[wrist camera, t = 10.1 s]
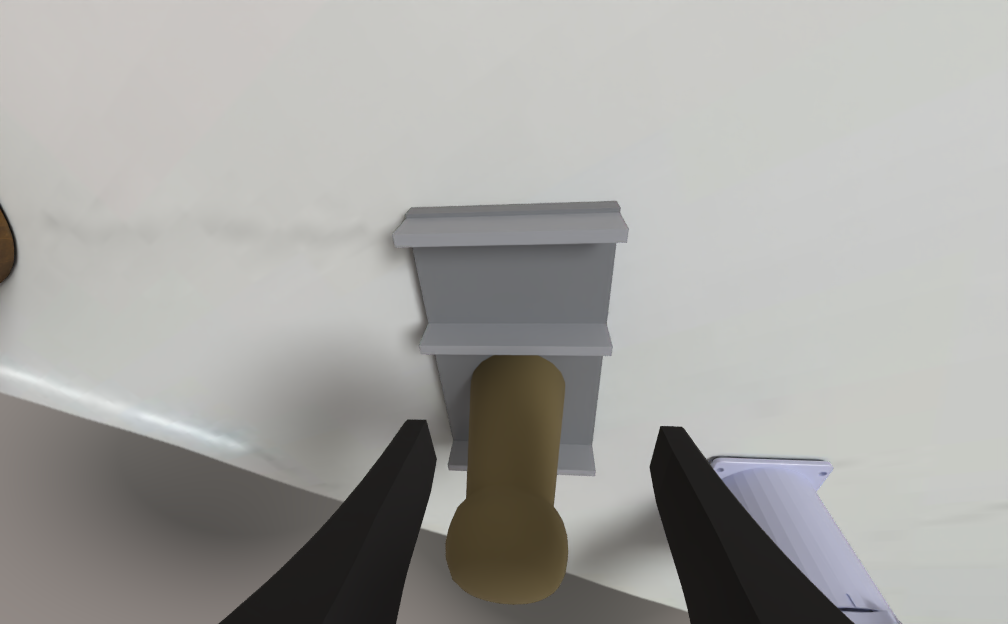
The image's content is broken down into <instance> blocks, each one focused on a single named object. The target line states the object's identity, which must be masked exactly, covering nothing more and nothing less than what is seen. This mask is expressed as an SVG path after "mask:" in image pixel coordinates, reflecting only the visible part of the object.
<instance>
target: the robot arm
mask: <svg viewBox="0 0 1008 624" xmlns="http://www.w3.org/2000/svg"><path fill="white" fill-rule="evenodd" d="M436 460H437V458H436V455H435V451H434V447H433V443H432V440H431V436H430V432H429V429H428V425H427V421H426V420H407V421H406V422H405V423H404V424H403V426H402V427H401V428H400V430H399V431H398V433H397V434H396V436H395V437H394V438H393V440H392V441H391V443H390V444H389V445H388V447H387V448H386V449H385V451H384V452H383V454H382V455H381V456H380V458H379V459H378V460H377V462H376V463H375V464H374V465H373V467H372V468H371V469H370V471H369V472H368V473H367V474H366V476H365V477H364V478H363V480H362V481H361V482H360V483H359V485H358V486H357V487H356V488H355V489H354V491H353V492H352V493H351V494H350V495H349V497H348V498H347V499H346V500H345V501H344V503H343V504H342V505H341V506H340V507H339V509H338V510H337V511H336V512H335V513H334V514H333V515H332V516H331V518H330V519H329V520H328V521H327V522H326V523H325V524H324V525H323V526H322V527H321V529H320V530H319V531H318V532H317V533H316V534H315V535H314V536H313V537H312V538H311V539H310V540H309V541H308V542H307V543H306V544H305V545H304V546H303V547H302V548H301V549H300V550H299V551H298V552H297V553H296V554H295V555H294V556H293V557H292V558H291V559H290V560H289V561H288V562H287V563H286V564H285V565H284V566H283V567H282V568H281V569H280V570H279V571H278V572H277V573H276V574H274V575H273V576H272V577H271V578H270V579H269V580H268V581H267V582H266V583H265V584H264V585H262V586H261V587H260V588H259V589H258V590H257V591H256V592H255V593H253V594H252V595H251V596H250V597H249V598H248V599H247V600H245V601H244V602H243V603H242V604H241V605H240V606H239V607H237V608H236V609H235V610H234V611H233V612H232V613H231V614H229V615H228V616H227V617H226V618H225V619H224V620H222V621H221V622H220V623H219V624H396V621H397V615H398V611H399V606H400V602H401V597H402V591H403V587H404V583H405V579H406V575H407V571H408V568H409V564H410V561H411V557H412V554H413V551H414V547H415V544H416V540H417V537H418V534H419V530H420V527H421V524H422V521H423V517H424V514H425V510H426V507H427V503H428V500H429V496H430V493H431V488H432V483H433V478H434V472H435V466H436ZM832 470H833V466H832V465H831V463H830V462H827V461H807V460H778V459H750V458H716V459H714V460H713V462H712V464H711V465H710V464H709V462H708V461H707V460H706V458H705V457H704V456H703V454H702V453H701V452H700V450H699V449H698V447H697V446H696V445H695V443H694V442H693V440H692V439H691V438H690V436H689V435H688V433H687V432H686V431H685V429H684V428H683V427H674V426H660V430H659V434H658V437H657V441H656V445H655V449H654V452H653V456H652V460H651V464H650V472H651V478H652V483H653V489H654V494H655V499H656V503H657V507H658V510H659V514H660V517H661V520H662V524H663V527H664V530H665V534H666V537H667V540H668V543H669V547H670V550H671V553H672V556H673V560H674V563H675V566H676V569H677V573H678V576H679V579H680V583H681V586H682V590H683V593H684V597H685V601H686V604H687V609H688V613H689V618H690V623H691V624H902V623H901V622H900V621H899V620H898V619H897V617H896V615H895V614H894V612H893V611H892V609H891V608H890V606H889V605H888V603H887V601H886V600H885V598H884V597H883V595H882V594H881V592H880V591H879V589H878V587H877V586H876V584H875V583H874V581H873V580H872V578H871V577H870V575H869V573H868V572H867V570H866V569H865V567H864V566H863V564H862V563H861V561H860V559H859V558H858V556H857V555H856V553H855V552H854V550H853V549H852V547H851V545H850V544H849V542H848V541H847V539H846V538H845V536H844V535H843V533H842V531H841V530H840V528H839V527H838V525H837V524H836V522H835V521H834V519H833V517H832V516H831V514H830V513H829V511H828V510H827V508H826V507H825V505H824V503H823V502H822V500H821V499H820V497H819V496H818V494H817V493H816V492H817V490H818V489H819V488H820V486H821V485H822V484H823V482H824V481H825V480H826V478H827V477H828V476H829V474H830V473H831V472H832Z"/></svg>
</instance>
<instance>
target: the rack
mask: <svg viewBox="0 0 1008 624" xmlns="http://www.w3.org/2000/svg"><path fill="white" fill-rule="evenodd" d="M405 216H406V219H405V220H404V221H403V223H402V224H401V225H400V226H399V227H398V228H397V230H396V231H395V232H394V233H393V234H392V236H393V240H394V244H395V247H412V249H413V254H414V258H415V263H416V268H417V272H418V277H419V282H420V287H421V291H422V296H423V301H424V305H425V310H426V315H427V319H428V325H427V328H426V330H425V332H424V335H423V337H422V339H421V342H420V344H419V348H420V352H421V354H435V357H436V362H437V366H438V371H439V376H440V380H441V385H442V390H443V394H444V399H445V404H446V408H447V413H448V418H449V423H450V427H451V432H452V437H453V444H452V448H451V453H450V457H449V462H448V469H449V470H455V471H467V465H468V439H469V413H470V387H471V379H472V376H473V372H474V370H475V369H476V368H477V367H478V366H479V364H480V363H481V362H482V361H484V360H486V359H488V358H489V357H491V356H493V355H539V356H541V357H542V358H544V359H546V360H548V361H550V362H551V363H553V364H554V365H555V366H556V368H557V369H558V370H559V371H560V372H561V373H562V376H563V378H564V381H565V398H564V408H563V418H562V428H561V438H560V448H559V458H558V468H557V475H578V476H595V472H596V470H595V463H594V456H593V448H592V441H593V433H594V425H595V416H596V408H597V400H598V391H599V383H600V375H601V366H602V358H603V356H611V355H612V348H613V346H612V342H611V338H610V335H609V331H608V327H607V316H608V308H609V300H610V291H611V283H612V275H613V266H614V258H615V250H616V243H627V238H628V231H629V228H628V226H627V224H626V223H625V221H624V219H623V217H622V215H621V213H620V206H619V204H618V202H617V201H602V202H571V203H540V204H509V205H478V206H447V207H416V208H410V210H409V211H408V212H407V213H406V214H405Z"/></svg>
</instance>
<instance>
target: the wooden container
mask: <svg viewBox="0 0 1008 624" xmlns="http://www.w3.org/2000/svg"><path fill="white" fill-rule="evenodd" d="M13 263H14V243H13V238H12V234H11V231H10V229H9V226H8V223H7V221H6V219H5V217H4V215H3V213H2V211H1V209H0V283H1V282H2V281H3V280H4V279H6V278H7V277H8V275H9V274H10V271H11V269H12V266H13Z"/></svg>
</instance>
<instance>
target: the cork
mask: <svg viewBox="0 0 1008 624" xmlns="http://www.w3.org/2000/svg"><path fill="white" fill-rule="evenodd" d="M564 398H565V381H564V378H563V376H562V373H561V372H560V371H559V370H558V369H557V368H556V366H555V365H554V364H553V363H551V362H550V361H548V360H546V359H544V358H542V357H541V356H539V355H493V356H491V357H489V358H488V359H486V360H484V361H482V362H481V363H480V364H479V366H478V367H477V368H476V369H475V370H474V372H473V376H472V379H471V387H470V413H469V439H468V465H467V490H466V499H465V500H464V501H463V502H462V503H461V504H460V505H459V506H458V508H457V510H456V512H455V514H454V516H453V519H452V521H451V524H450V526H449V529H448V534H447V539H446V560H447V564H448V567H449V570H450V573H451V576H452V579H453V580H454V581H455V582H456V583H457V584H458V585H459V586H460V587H461V588H462V589H463V590H464V591H465V592H467V593H469V594H470V595H472V596H474V597H477V598H480V599H483V600H486V601H490V602H495V603H501V604H513V605H514V604H528V603H533V602H537V601H540V600H542V599H544V598H546V597H548V596H550V595H551V594H553V593H554V592H555V591H556V590H557V589H558V588H559V586H560V584H561V582H562V580H563V578H564V576H565V572H566V566H567V560H568V540H567V534H566V530H565V527H564V523H563V521H562V519H561V517H560V515H559V513H558V512H557V510H556V509H555V508H554V498H555V488H556V478H557V468H558V458H559V448H560V438H561V428H562V418H563V408H564Z"/></svg>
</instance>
